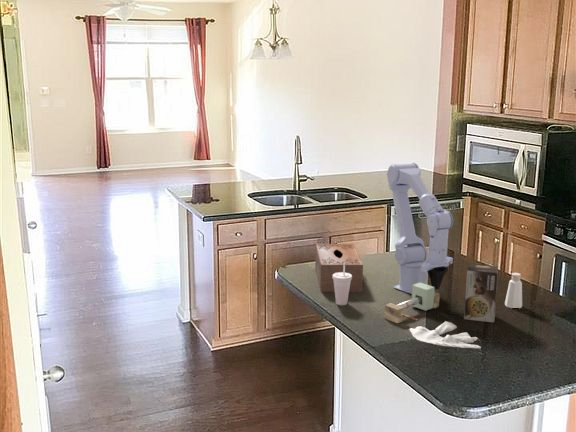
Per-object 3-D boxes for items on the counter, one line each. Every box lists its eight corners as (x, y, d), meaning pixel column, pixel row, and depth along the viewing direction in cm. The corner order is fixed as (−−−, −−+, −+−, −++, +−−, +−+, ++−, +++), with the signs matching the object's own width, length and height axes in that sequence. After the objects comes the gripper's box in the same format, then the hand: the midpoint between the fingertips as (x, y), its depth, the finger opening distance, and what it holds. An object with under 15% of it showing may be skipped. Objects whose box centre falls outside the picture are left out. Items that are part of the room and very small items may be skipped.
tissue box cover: (315, 268, 235) (315, 243, 233) (352, 268, 236) (353, 243, 233) (320, 292, 210) (321, 264, 208) (362, 292, 211) (363, 264, 208)
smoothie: (350, 307, 196) (351, 266, 193) (330, 305, 197) (331, 264, 194) (352, 300, 202) (353, 260, 199) (333, 298, 203) (334, 258, 200)
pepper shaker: (522, 304, 199) (526, 272, 197) (521, 310, 195) (524, 277, 192) (505, 301, 202) (508, 270, 199) (503, 307, 197) (506, 275, 194)
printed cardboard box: (494, 315, 190) (499, 266, 187) (494, 323, 184) (498, 272, 181) (464, 311, 193) (468, 263, 189) (463, 319, 187) (466, 269, 184)
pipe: (429, 296, 200) (430, 290, 199) (435, 298, 198) (436, 292, 197) (388, 312, 186) (388, 305, 186) (394, 314, 184) (394, 308, 184)
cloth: (398, 330, 181) (399, 322, 180) (457, 318, 189) (458, 311, 189) (442, 359, 163) (442, 351, 162) (505, 345, 171) (506, 337, 171)
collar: (418, 302, 199) (419, 282, 197) (433, 307, 195) (434, 286, 193) (411, 305, 196) (412, 285, 195) (425, 310, 192) (426, 289, 191)
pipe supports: (419, 299, 203) (420, 287, 202) (445, 308, 196) (446, 295, 195) (378, 315, 189) (378, 302, 188) (404, 325, 182) (404, 312, 181)
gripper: (435, 255, 188) (432, 296, 191) (461, 246, 197) (458, 286, 201) (416, 250, 193) (414, 290, 196) (443, 242, 203) (440, 281, 206)
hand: (435, 288), depth 199 cm, fingers closed
